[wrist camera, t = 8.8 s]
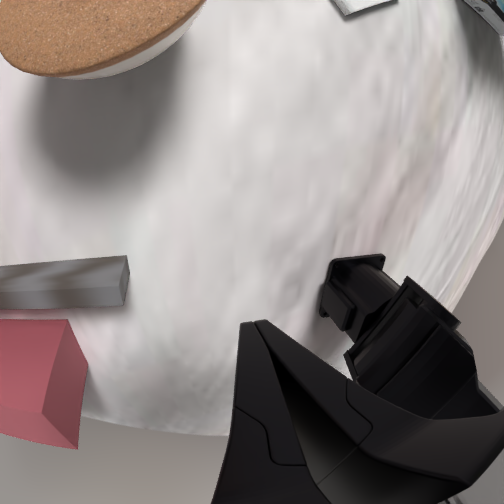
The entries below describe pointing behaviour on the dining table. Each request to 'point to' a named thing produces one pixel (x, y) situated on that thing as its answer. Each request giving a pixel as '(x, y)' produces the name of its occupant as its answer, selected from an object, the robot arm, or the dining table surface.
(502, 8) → the tea box
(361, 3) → the external hard drive
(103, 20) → the lidded jar
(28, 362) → the pink rectangular block
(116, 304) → the bookend
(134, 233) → the dining table surface
